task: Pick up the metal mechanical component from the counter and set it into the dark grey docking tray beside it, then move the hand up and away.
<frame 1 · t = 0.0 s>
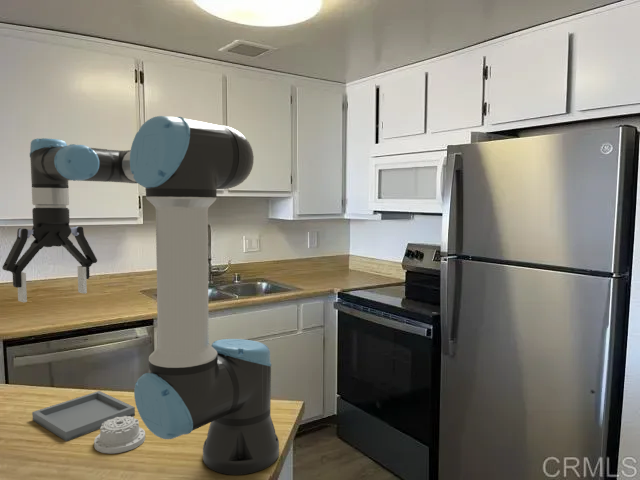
hand: (53, 297, 114), 28 cm above the counter, tool pointing down, fingers open, 13 cm apart
dock tray: (84, 417, 113), on the counter
mechanical component: (120, 443, 102), on the counter
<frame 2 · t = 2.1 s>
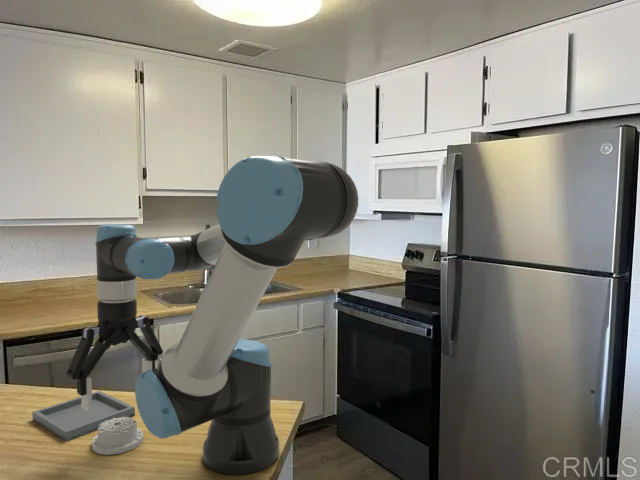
hand: (118, 398, 102), 9 cm above the counter, tool pointing down, fingers open, 13 cm apart
nothing on the counter moved.
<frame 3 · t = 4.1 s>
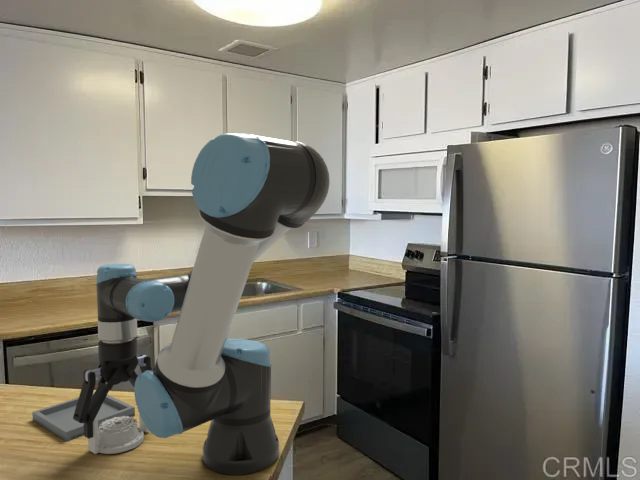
hand: (120, 440, 102), 0 cm above the counter, tool pointing down, fingers open, 11 cm apart
mechanical component: (118, 444, 102), on the counter, touching gripper
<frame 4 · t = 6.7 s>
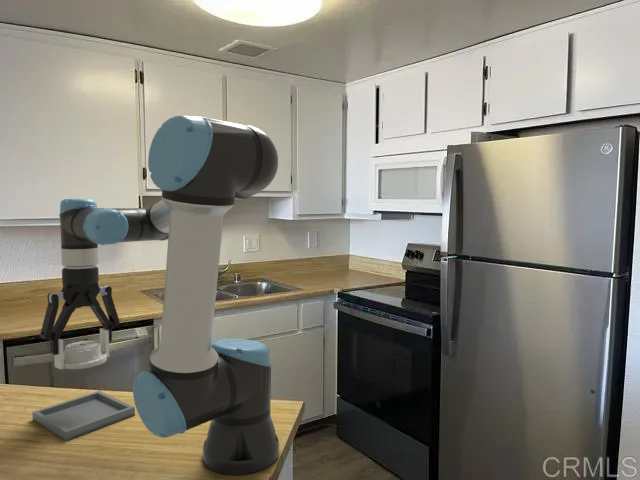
hand: (82, 361, 112), 13 cm above the counter, tool pointing down, fingers closed on mechanical component, 10 cm apart
mechanical component: (83, 364, 112), point 13 cm above the counter, touching gripper
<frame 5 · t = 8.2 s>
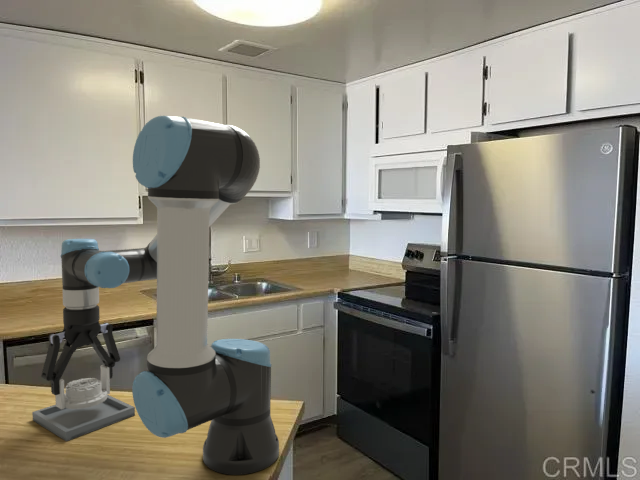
hand: (83, 399, 113), 4 cm above the counter, tool pointing down, fingers closed on mechanical component, 10 cm apart
mechanical component: (84, 402, 113), point 4 cm above the counter, touching gripper
when the fingers open (2 cm above the counter, at t = 9.2 s): mechanical component drops 1 cm, resting on dock tray.
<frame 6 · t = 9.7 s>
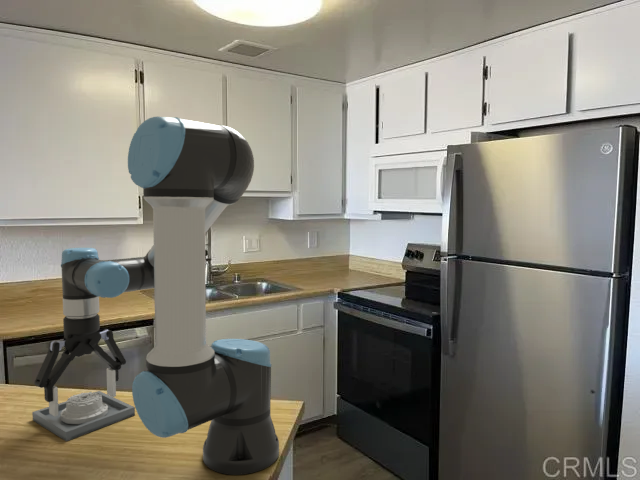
hand: (84, 404, 113), 3 cm above the counter, tool pointing down, fingers open, 13 cm apart
mechanical component: (84, 416, 113), resting on dock tray
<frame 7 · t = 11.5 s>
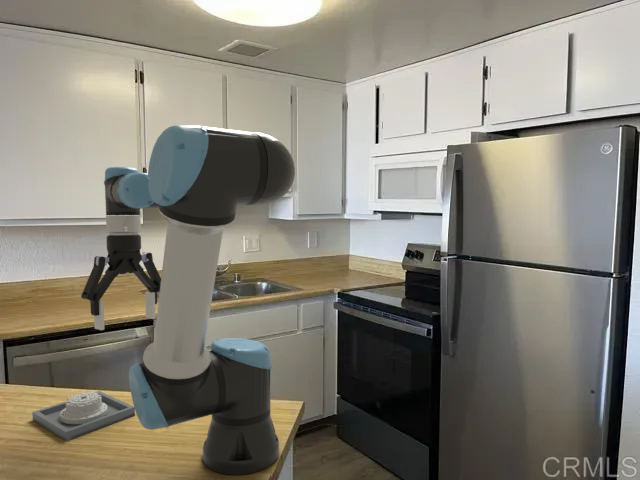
hand: (126, 323, 115), 22 cm above the counter, tool pointing down, fingers open, 13 cm apart
nothing on the counter moved.
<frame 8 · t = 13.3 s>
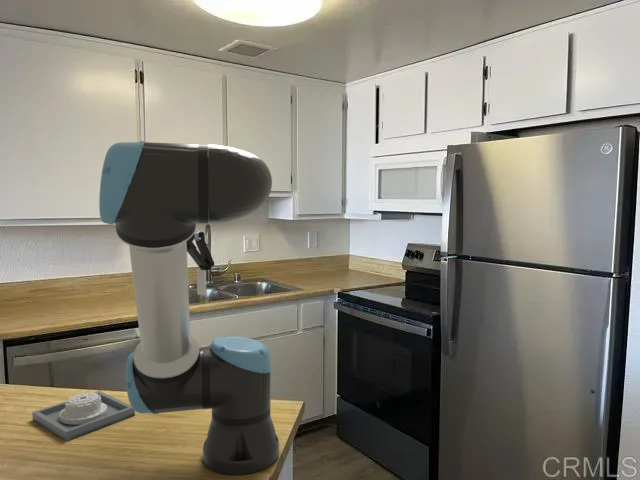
hand: (179, 298, 120), 27 cm above the counter, tool pointing down, fingers open, 13 cm apart
nothing on the counter moved.
at the end: mechanical component inside the target area on the dock tray (0.4 cm from its centre), point 0.4 cm above the dock tray's base; the gripper is holding nothing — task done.
